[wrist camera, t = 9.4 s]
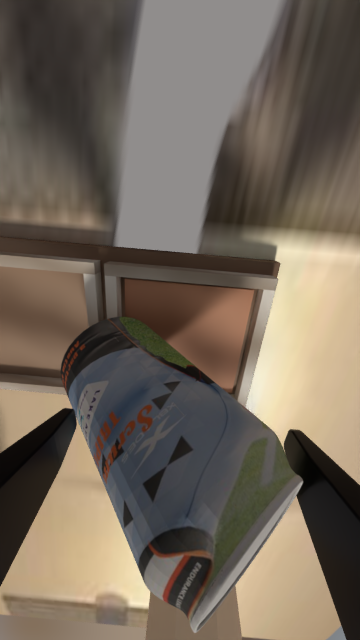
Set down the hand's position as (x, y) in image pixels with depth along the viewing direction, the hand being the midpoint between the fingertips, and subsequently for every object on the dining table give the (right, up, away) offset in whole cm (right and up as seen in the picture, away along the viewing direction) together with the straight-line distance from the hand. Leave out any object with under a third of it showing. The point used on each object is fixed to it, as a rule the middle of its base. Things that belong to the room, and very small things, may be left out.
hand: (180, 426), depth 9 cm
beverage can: (-4, +2, +6) cm, 8 cm away
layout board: (-11, +4, +8) cm, 14 cm away
